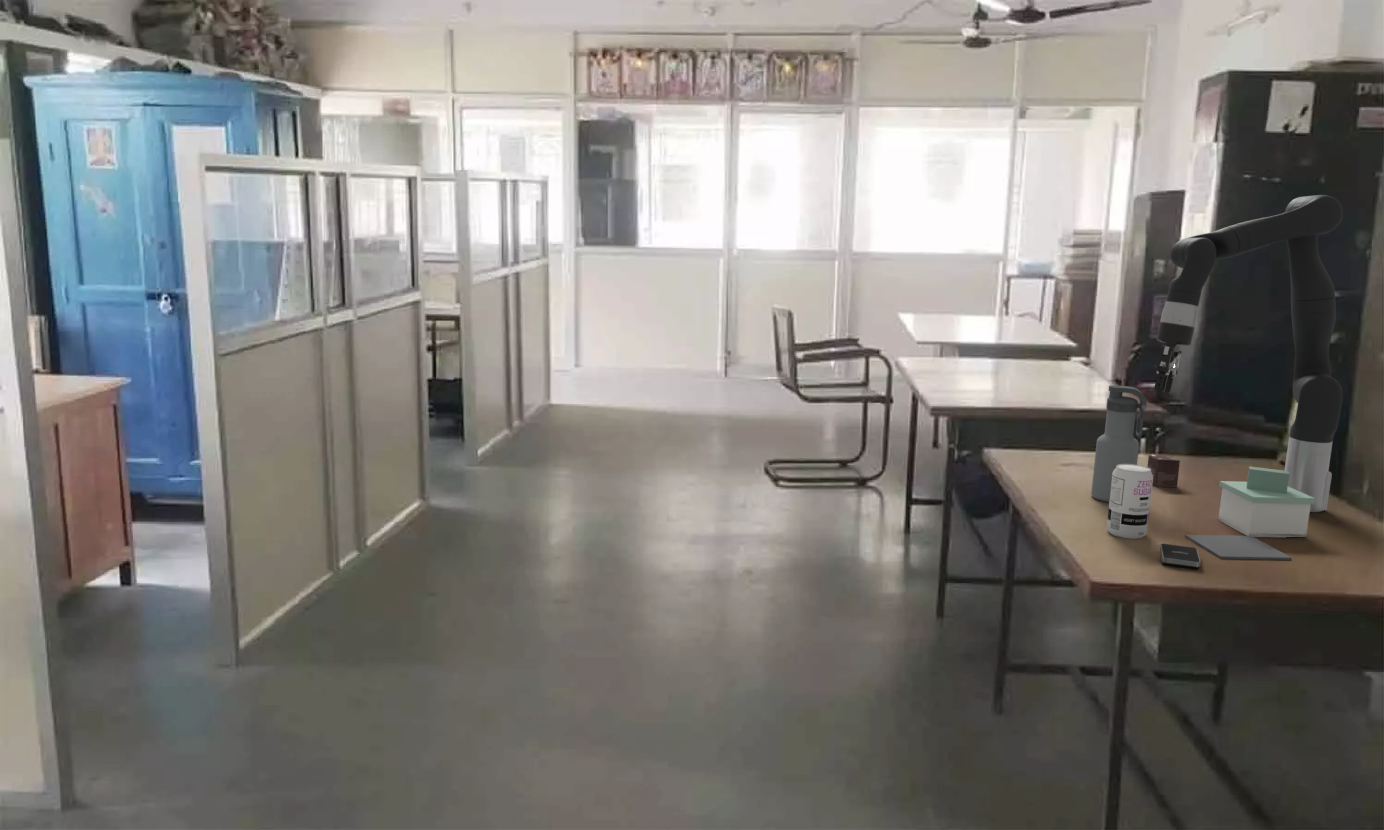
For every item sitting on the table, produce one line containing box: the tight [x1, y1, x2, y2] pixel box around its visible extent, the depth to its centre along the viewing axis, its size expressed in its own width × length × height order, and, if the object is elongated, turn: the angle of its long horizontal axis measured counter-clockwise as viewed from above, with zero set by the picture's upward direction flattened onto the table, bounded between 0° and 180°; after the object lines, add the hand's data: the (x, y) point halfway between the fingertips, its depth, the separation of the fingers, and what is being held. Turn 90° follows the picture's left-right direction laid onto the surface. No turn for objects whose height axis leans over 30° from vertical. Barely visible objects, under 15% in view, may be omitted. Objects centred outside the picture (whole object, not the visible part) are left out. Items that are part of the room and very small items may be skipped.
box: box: [1146, 454, 1181, 488], centre depth 286 cm, size 6×6×7 cm
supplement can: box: [1106, 464, 1153, 540], centre depth 238 cm, size 8×8×15 cm
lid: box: [1218, 466, 1315, 504], centre depth 245 cm, size 14×14×7 cm
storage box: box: [1217, 487, 1311, 538], centre depth 246 cm, size 13×13×8 cm
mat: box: [1184, 534, 1293, 561], centre depth 232 cm, size 15×15×1 cm
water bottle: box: [1090, 384, 1147, 503], centre depth 267 cm, size 10×10×28 cm
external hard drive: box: [1159, 542, 1201, 571], centre depth 222 cm, size 7×11×2 cm, turn 159°
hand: (1162, 391), depth 255 cm, fingers open, 8 cm apart
